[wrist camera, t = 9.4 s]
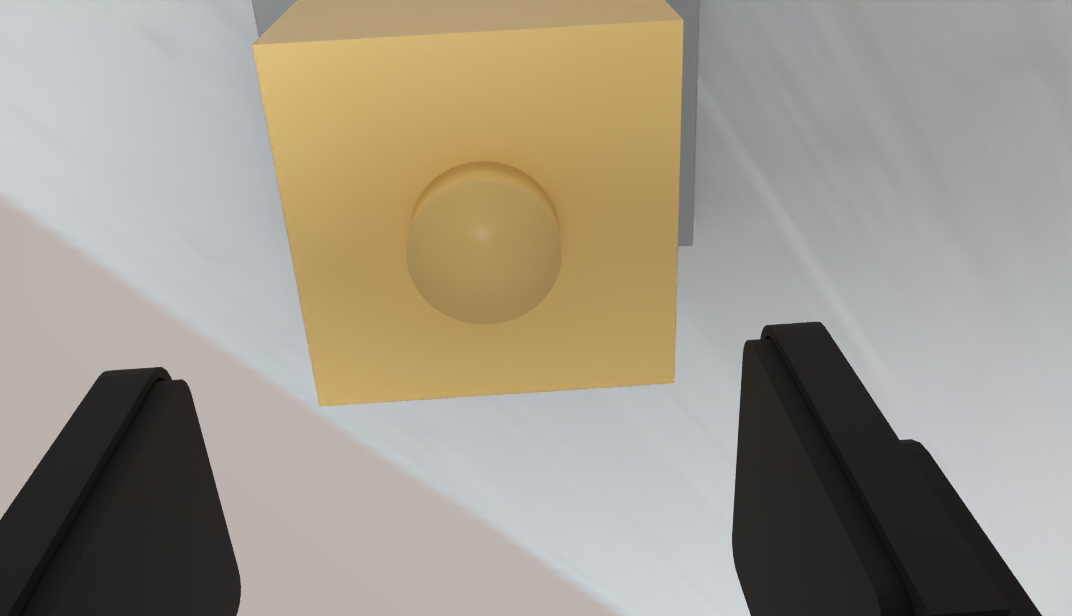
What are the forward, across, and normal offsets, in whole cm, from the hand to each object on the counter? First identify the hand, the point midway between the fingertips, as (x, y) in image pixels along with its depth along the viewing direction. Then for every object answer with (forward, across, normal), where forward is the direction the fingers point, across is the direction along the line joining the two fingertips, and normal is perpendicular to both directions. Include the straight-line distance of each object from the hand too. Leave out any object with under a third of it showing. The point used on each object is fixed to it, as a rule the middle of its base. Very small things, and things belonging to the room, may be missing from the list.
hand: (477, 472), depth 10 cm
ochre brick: (+12, 0, 0) cm, 12 cm away
